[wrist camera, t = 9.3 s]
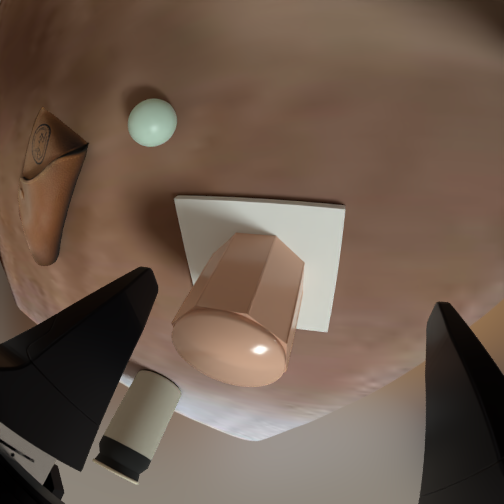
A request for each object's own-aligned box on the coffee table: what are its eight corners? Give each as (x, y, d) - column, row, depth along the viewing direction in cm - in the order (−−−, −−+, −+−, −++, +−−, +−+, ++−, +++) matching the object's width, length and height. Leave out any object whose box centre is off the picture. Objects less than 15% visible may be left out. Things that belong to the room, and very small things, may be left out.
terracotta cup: (305, 238, 20) (286, 328, 14) (302, 310, 24) (283, 394, 18) (209, 230, 22) (157, 306, 16) (221, 299, 26) (186, 373, 20)
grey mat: (345, 205, 18) (345, 209, 18) (327, 327, 25) (327, 332, 25) (177, 195, 21) (174, 198, 21) (202, 308, 28) (200, 313, 28)
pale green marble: (182, 92, 17) (156, 99, 14) (188, 137, 18) (164, 151, 16) (142, 98, 17) (114, 107, 15) (149, 140, 19) (123, 155, 17)
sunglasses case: (39, 99, 19) (8, 138, 15) (101, 119, 23) (83, 161, 19) (20, 218, 29) (6, 260, 26) (65, 231, 34) (55, 274, 30)
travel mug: (131, 364, 42) (80, 453, 28) (171, 375, 40) (121, 477, 26) (150, 389, 47) (109, 470, 33) (188, 399, 44) (148, 489, 30)
